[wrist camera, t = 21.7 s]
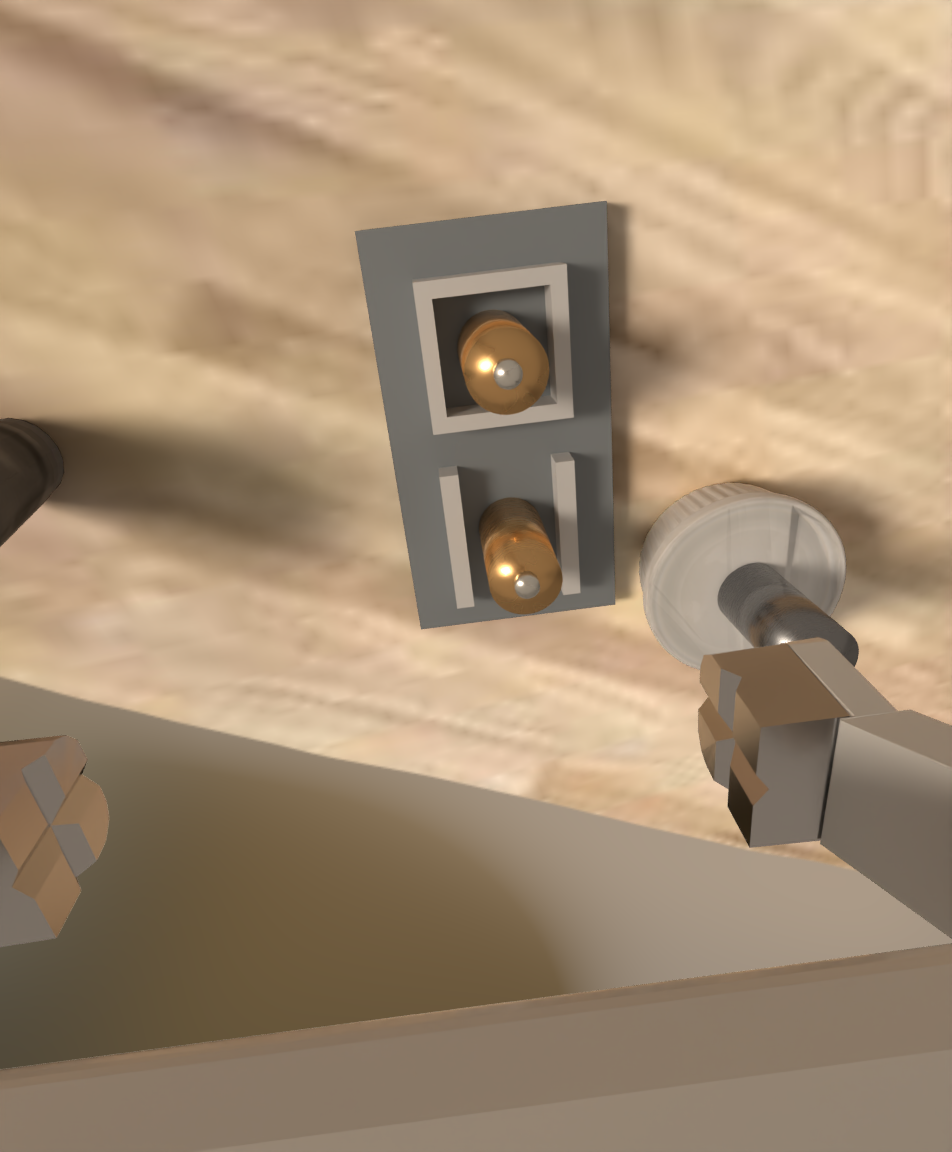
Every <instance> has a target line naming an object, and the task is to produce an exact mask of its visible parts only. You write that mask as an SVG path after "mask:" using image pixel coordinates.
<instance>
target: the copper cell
mask: <svg viewBox="0 0 952 1152" xmlns="http://www.w3.org/2000/svg"><path fill="white" fill-rule="evenodd" d="M457 352H458V357H459V361H460V364H461V368H462V372H463V375H464V379H465V382H466V386H467V389H468V391H469V393H470V395H471V396H472V398H473V399H474V400H475V402H476V403H477V404H478V405H480V406H481V407H482V408H484V409H485V410H487V411H489V412H492V413H495V414H500V415H511V414H516V413H519V412H522V411H524V410H526V409H528V408H529V407H531V406H532V405H533V404H534V403H535V402H537V400H538V399H539V398H540V397H541V395H542V394H543V392H544V390H545V388H546V385H547V383H548V378H549V362H548V357H547V354H546V352H545V350H544V348H543V346H542V345H541V344H540V342H539V341H538V340H537V339H536V338H535V337H534V336H533V335H532V334H531V333H530V332H529V331H528V330H527V329H526V328H525V327H524V326H523V325H522V324H521V323H520V322H519V321H518V320H517V319H516V318H515V317H513V316H512V315H511V314H509V313H507V312H504V311H501V310H494V309H492V310H485V311H482V312H479V313H477V314H475V315H474V316H472V317H471V318H470V319H469V320H468V321H467V322H466V323H465V324H464V326H463V327H462V329H461V331H460V334H459V337H458V342H457Z"/></svg>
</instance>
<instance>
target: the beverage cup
mask: <svg viewBox="0 0 952 1152" xmlns="http://www.w3.org/2000/svg"><path fill="white" fill-rule="evenodd" d="M63 473H64V468H63V459H62V456H61V454H60V452H59V449H58V447H57V446H56V444H55V443H54V442H53V441H52V439H51V438H50V437H49V436H48V435H47V434H46V433H45V432H43V431H42V430H41V429H39V428H38V427H37V426H35V425H32V424H30V423H28V422H25V421H23V420H18V419H11V418H5V419H0V547H1V546H2V545H3V544H4V543H5V542H6V541H7V540H8V539H9V538H10V537H11V536H12V535H13V534H14V533H15V532H16V531H17V530H18V528H19V527H20V526H21V525H22V524H23V523H24V522H25V521H26V520H27V519H28V518H29V517H30V516H31V515H32V514H33V513H34V512H35V511H36V510H37V509H38V508H39V507H40V506H41V505H42V504H43V503H44V502H45V501H46V500H47V498H48V497H49V496H50V495H51V493H52V492H53V491H54V490H55V489H56V488H57V486H58V485H59V484H60V483H61V479H62V476H63Z"/></svg>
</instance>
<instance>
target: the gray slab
mask: <svg viewBox="0 0 952 1152" xmlns="http://www.w3.org/2000/svg"><path fill="white" fill-rule="evenodd" d="M355 235H356V241H357V247H358V253H359V259H360V265H361V271H362V277H363V283H364V289H365V295H366V301H367V307H368V313H369V319H370V325H371V331H372V337H373V343H374V349H375V355H376V361H377V367H378V373H379V379H380V385H381V391H382V397H383V403H384V409H385V415H386V421H387V427H388V433H389V439H390V445H391V451H392V457H393V463H394V469H395V475H396V481H397V487H398V493H399V499H400V505H401V511H402V517H403V523H404V529H405V535H406V541H407V547H408V553H409V560H410V566H411V572H412V578H413V584H414V590H415V596H416V602H417V608H418V614H419V620H420V626H421V629H427V628H435V627H443V626H451V625H459V624H466V623H474V622H482V621H490V620H498V619H505V618H513V617H521V616H529V615H537V614H545V613H552V612H560V611H568V610H576V609H584V608H591V607H599V606H607V605H615V568H614V521H613V474H612V427H611V380H610V333H609V287H608V240H607V201H601V202H593V203H584V204H576V205H568V206H560V207H551V208H543V209H535V210H526V211H518V212H510V213H502V214H493V215H485V216H477V217H468V218H460V219H452V220H443V221H435V222H427V223H419V224H410V225H402V226H394V227H385V228H377V229H369V230H361V231H355ZM492 309H494V310H501V311H504V312H507V313H509V314H511V315H512V316H513V317H515V318H516V319H517V320H518V321H519V322H520V323H521V324H522V325H523V326H524V327H525V328H526V329H527V330H528V331H529V332H530V333H531V334H532V335H533V336H534V337H535V338H536V339H537V340H538V341H539V342H540V344H541V345H542V346H543V348H544V350H545V352H546V354H547V357H548V362H549V378H548V383H547V385H546V388H545V390H544V392H543V394H542V395H541V397H540V398H539V399H538V400H537V402H535V403H534V404H533V405H532V406H531V407H529V408H528V409H526V410H524V411H522V412H519V413H516V414H511V415H500V414H495V413H492V412H489V411H487V410H485V409H484V408H482V407H481V406H480V405H478V404H477V403H476V402H475V400H474V399H473V398H472V396H471V395H470V393H469V391H468V389H467V386H466V382H465V379H464V375H463V372H462V368H461V364H460V361H459V357H458V352H457V342H458V337H459V334H460V331H461V329H462V327H463V326H464V324H465V323H466V322H467V321H468V320H469V319H470V318H471V317H472V316H474V315H475V314H477V313H479V312H482V311H485V310H492ZM508 497H515V498H520V499H523V500H525V501H527V502H529V503H530V504H532V505H533V506H534V507H535V509H536V510H537V512H538V514H539V516H540V518H541V521H542V523H543V526H544V528H545V531H546V533H547V536H548V538H549V541H550V543H551V546H552V548H553V551H554V553H555V555H556V558H557V560H558V563H559V565H560V568H561V571H562V576H563V583H562V588H561V591H560V593H559V595H558V596H557V598H556V599H555V600H554V602H553V603H551V604H550V605H549V606H548V607H546V608H545V609H543V610H541V611H539V612H536V613H532V614H515V613H511V612H509V611H506V610H505V609H503V608H502V607H500V606H499V605H498V604H497V603H496V602H495V600H494V599H493V597H492V595H491V592H490V588H489V583H488V577H487V572H486V567H485V561H484V556H483V550H482V545H481V539H480V534H479V522H480V518H481V516H482V514H483V512H484V511H485V509H486V508H487V507H488V506H489V505H491V504H492V503H494V502H495V501H497V500H500V499H503V498H508Z"/></svg>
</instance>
